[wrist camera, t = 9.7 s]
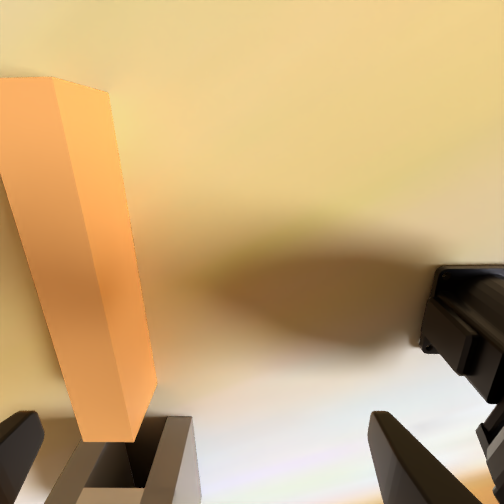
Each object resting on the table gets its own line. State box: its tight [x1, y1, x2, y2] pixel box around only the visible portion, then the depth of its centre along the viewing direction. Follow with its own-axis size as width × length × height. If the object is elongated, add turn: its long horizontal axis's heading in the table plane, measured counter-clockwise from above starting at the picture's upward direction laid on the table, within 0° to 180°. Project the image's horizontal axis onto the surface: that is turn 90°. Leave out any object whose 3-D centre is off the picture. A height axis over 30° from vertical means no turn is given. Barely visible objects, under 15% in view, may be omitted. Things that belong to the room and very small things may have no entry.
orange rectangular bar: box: [0, 77, 157, 442], centre depth 18 cm, size 20×3×5 cm, turn 1°
